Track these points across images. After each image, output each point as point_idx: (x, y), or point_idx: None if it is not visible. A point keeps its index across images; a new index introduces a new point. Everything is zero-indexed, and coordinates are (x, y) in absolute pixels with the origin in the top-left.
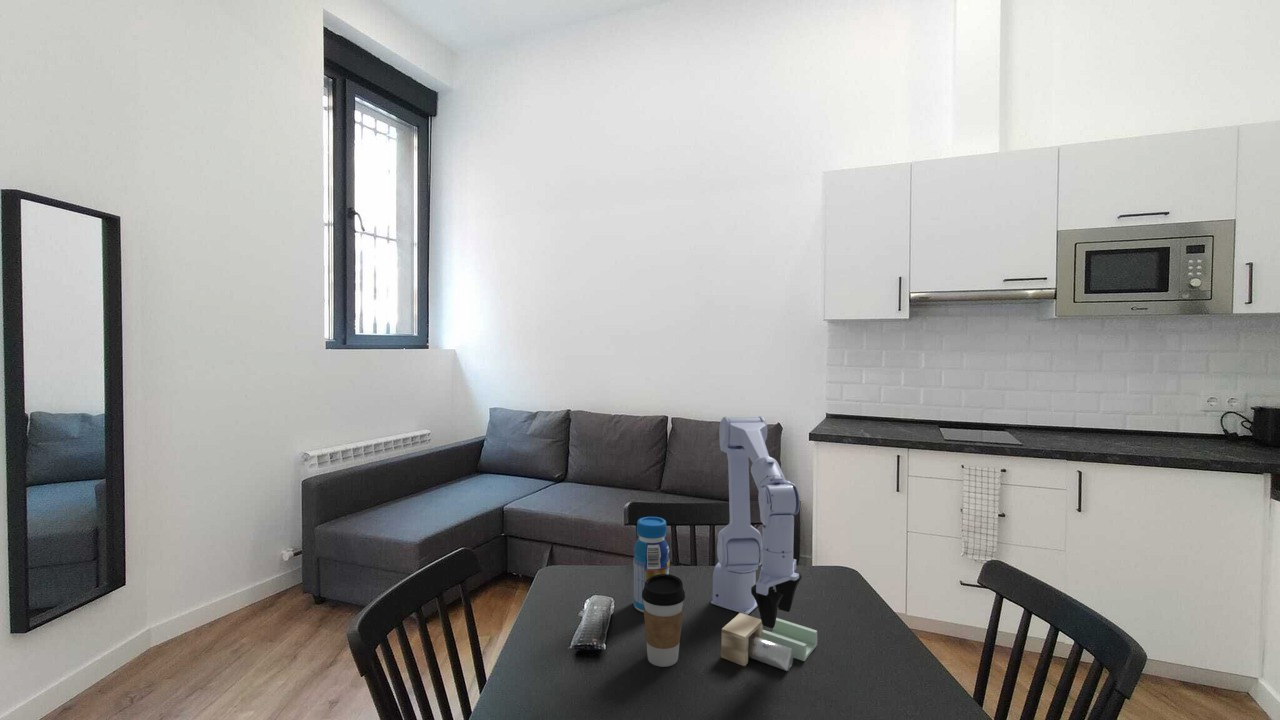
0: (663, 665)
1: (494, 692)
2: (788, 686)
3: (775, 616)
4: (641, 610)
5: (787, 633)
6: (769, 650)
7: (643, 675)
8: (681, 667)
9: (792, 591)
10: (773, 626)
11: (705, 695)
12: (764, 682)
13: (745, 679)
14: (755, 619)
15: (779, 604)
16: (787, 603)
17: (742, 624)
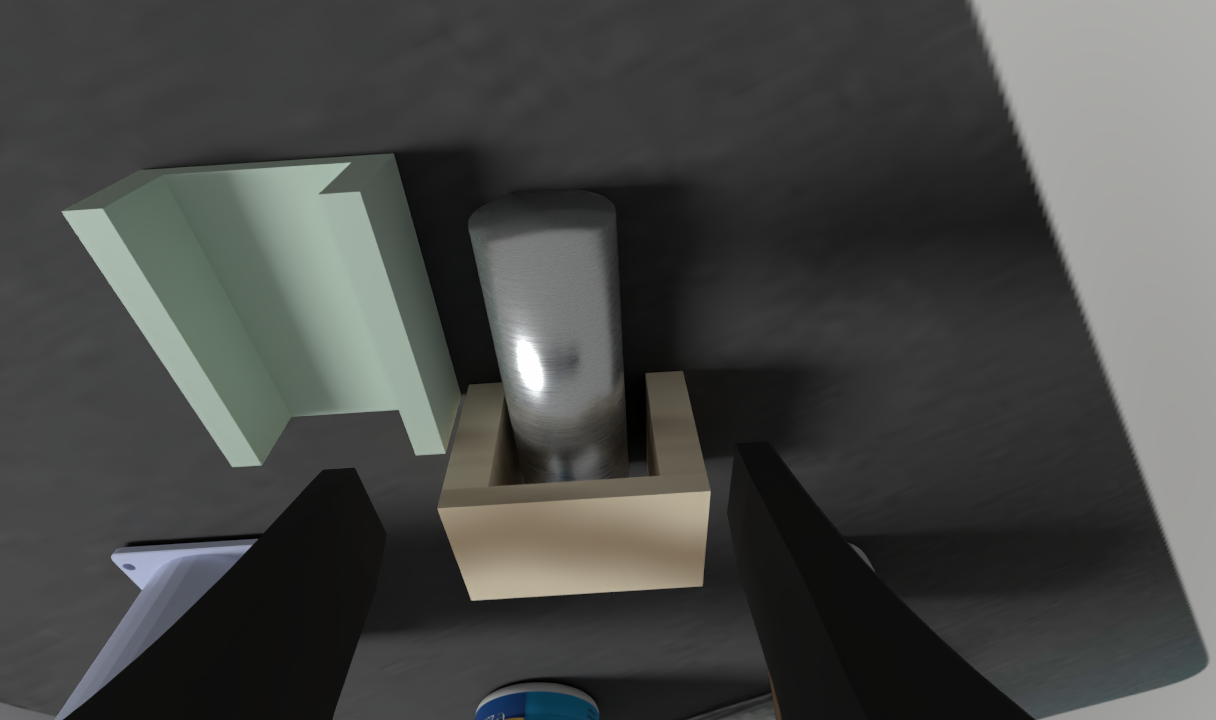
0: (865, 555)
1: (1140, 690)
2: (723, 112)
3: (816, 536)
4: (598, 710)
5: (249, 354)
6: (604, 341)
7: (940, 561)
8: (833, 516)
9: (204, 704)
10: (775, 452)
11: (989, 383)
12: (761, 240)
13: (786, 321)
14: (468, 533)
15: (369, 574)
16: (322, 554)
17: (581, 550)
